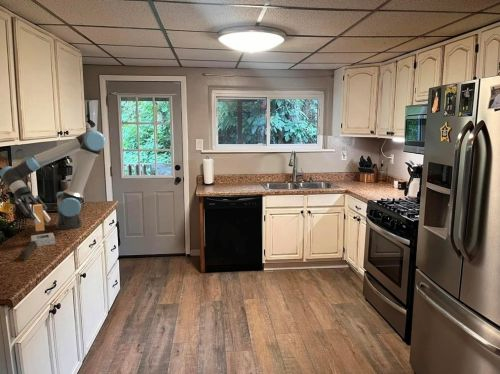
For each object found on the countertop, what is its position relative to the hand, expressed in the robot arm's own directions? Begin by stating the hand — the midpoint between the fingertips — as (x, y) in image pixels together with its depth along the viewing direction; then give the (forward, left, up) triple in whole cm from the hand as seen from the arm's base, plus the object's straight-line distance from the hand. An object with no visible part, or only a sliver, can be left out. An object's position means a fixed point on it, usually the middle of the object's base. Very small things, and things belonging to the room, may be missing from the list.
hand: (44, 222), depth 206 cm
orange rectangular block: (+2, -3, -5) cm, 6 cm away
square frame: (+1, -3, -12) cm, 13 cm away
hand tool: (+9, +14, -13) cm, 21 cm away
